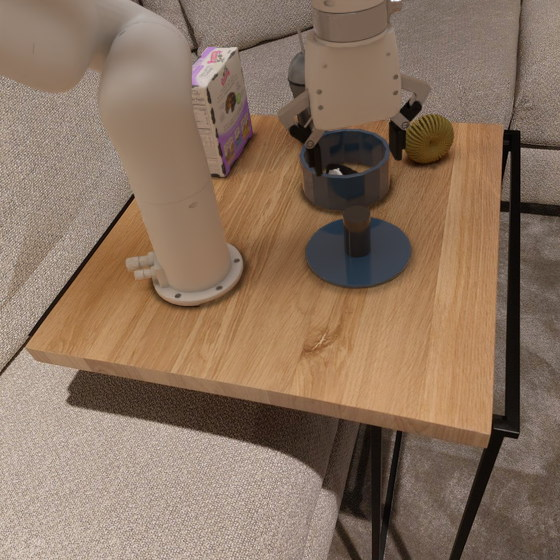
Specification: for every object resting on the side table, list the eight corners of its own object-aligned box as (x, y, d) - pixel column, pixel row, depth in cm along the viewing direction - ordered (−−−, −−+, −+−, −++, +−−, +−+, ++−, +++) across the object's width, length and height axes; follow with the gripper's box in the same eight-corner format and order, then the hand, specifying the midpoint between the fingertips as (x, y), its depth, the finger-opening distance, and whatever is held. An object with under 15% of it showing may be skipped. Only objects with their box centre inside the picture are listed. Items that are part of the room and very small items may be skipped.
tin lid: (316, 300, 75) (312, 259, 70) (298, 232, 85) (293, 192, 80) (425, 280, 75) (428, 238, 70) (393, 214, 86) (394, 174, 81)
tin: (311, 220, 87) (308, 184, 83) (297, 171, 97) (293, 137, 92) (400, 204, 87) (401, 167, 83) (376, 157, 97) (376, 122, 93)
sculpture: (407, 172, 93) (409, 127, 87) (399, 159, 96) (400, 115, 90) (455, 162, 93) (460, 116, 88) (445, 149, 96) (449, 104, 91)
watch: (318, 180, 93) (316, 161, 91) (341, 169, 95) (340, 149, 92) (348, 202, 88) (347, 182, 86) (372, 189, 90) (372, 169, 87)
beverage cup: (332, 149, 100) (325, 31, 86) (290, 149, 102) (277, 33, 88) (338, 127, 105) (331, 12, 91) (298, 127, 107) (286, 15, 93)
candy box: (224, 133, 109) (207, 44, 97) (254, 135, 107) (239, 45, 95) (194, 175, 99) (171, 83, 88) (226, 178, 98) (206, 85, 86)
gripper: (421, -10, 62) (416, 133, 74) (261, 21, 62) (281, 160, 73) (446, 15, 57) (436, 165, 68) (271, 48, 56) (291, 194, 68)
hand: (356, 162), depth 71 cm, fingers open, 9 cm apart
